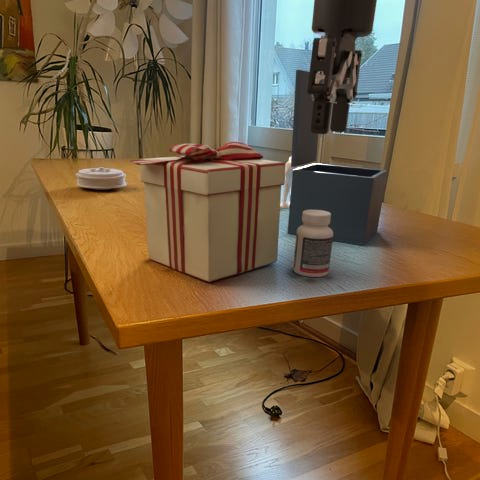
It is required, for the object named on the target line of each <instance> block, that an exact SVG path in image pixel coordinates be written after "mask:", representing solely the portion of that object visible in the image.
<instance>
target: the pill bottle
mask: <svg viewBox="0 0 480 480" xmlns="http://www.w3.org/2000/svg"><path fill="white" fill-rule="evenodd" d="M330 219H331V213H330V212H327V211H322V210H305V211H303V214H302V222H303V223H304V224H303V225H302V226H300V227H299V228H298V229H297V233H296V235H295V241H294V242H295V243H294V255H293V265H292V268H293V269H292V270H293V272H294V273H295V274H297V275H300V276H303V277H308V278H321V277H325V276H327V275H328V274H329V272H330V271H329V270H330V265H331V257H332V250H333V249H332V248H333V242H334V241H333V231H332V229H331V228H329V227H328V224H330Z"/></svg>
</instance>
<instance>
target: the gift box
mask: <svg viewBox="0 0 480 480" xmlns="http://www.w3.org/2000/svg"><path fill="white" fill-rule="evenodd" d="M168 151H169V152H172V153H175V154H177V155H174V156H163V157H150V158H141V159H130V160H129V162H131V163H133V164H134V165H137V166H139V170H140V171H139V172H140V181H141V182H142V183H143V188H144V189H143V190H144V205H145V224H146V239H147V240H146V241H147V242H146V243H147V258H148V260H151V261H153V262H156V263H158V264H161V265H163V266H166V267H168V268H171V269H173V270H174V271H175V270H176V271H178V272H181V273H183V274H186V275H189V276H191V277H193V278H196V279H198V280H200V281H204V282H207V283H211V282H216V281H218V280H222V279H226V278H229V277H232V276H235V275H240V274H243V273H245V272H248V271H252V270H255V269H258V268H261V267H266V266H268V265H271V264H275V263H277V262H278V251H279V235H280V234H279V232H280V220H281V219H280V217H281V208H280V203H281V201H282V198H281V197H282V186H284V185H285V164H286V162H283V161H279V160H278V161H277V160H271V159H264V156H263V155H262V154H261V153H259V152H258V151H256V150H255V149H253V148H252V147H250V146H249V145H248V144H246V143H244V142H241V141H230V142H227V143H225V144H224V145H223V146H221V147H218V148H216V149H214V148H211V146H209V145H208V144H204V143H203V144H202V143H179V144H174V145H171V146H170V147H169V148H168Z"/></svg>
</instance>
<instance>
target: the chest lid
mask: <svg viewBox="0 0 480 480" xmlns="http://www.w3.org/2000/svg"><path fill="white" fill-rule="evenodd" d="M309 72H310V71H308V70H303V69H296V70H295V83H294V84H295V85H294V99H293V100H294V101H293V102H294V103H293V104H294V105H293V121H292V124H293V125H292V140H291V155H292V157H291V156H290V157H291V167H296V166H303V165H308V164H312V163H315V162H317V157H318V145H319V144H318V143H319V134H315V133H312V132H311V122H312V112H313V103H314V101H313V100H312V96H311V95H312V94H308V92H307V88H308V80H309Z"/></svg>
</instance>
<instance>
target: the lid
mask: <svg viewBox="0 0 480 480" xmlns="http://www.w3.org/2000/svg"><path fill="white" fill-rule="evenodd" d="M75 177H76V179H77V183H76V186H77V187H80V188H86V189H92V190H101V191H103V190H105V191H106V190H107V191H108V190H112V189H116V188H117V189H118V188H124V187H126V186H127V182H126V177H127V174H126V173H125V172H124V171H123V170H122V169H119V168H118V169H117V168H108V167H106V168H105V166H98V167H93V168H91V167H90V168H83V169H79V170H78V172H76V173H75Z"/></svg>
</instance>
